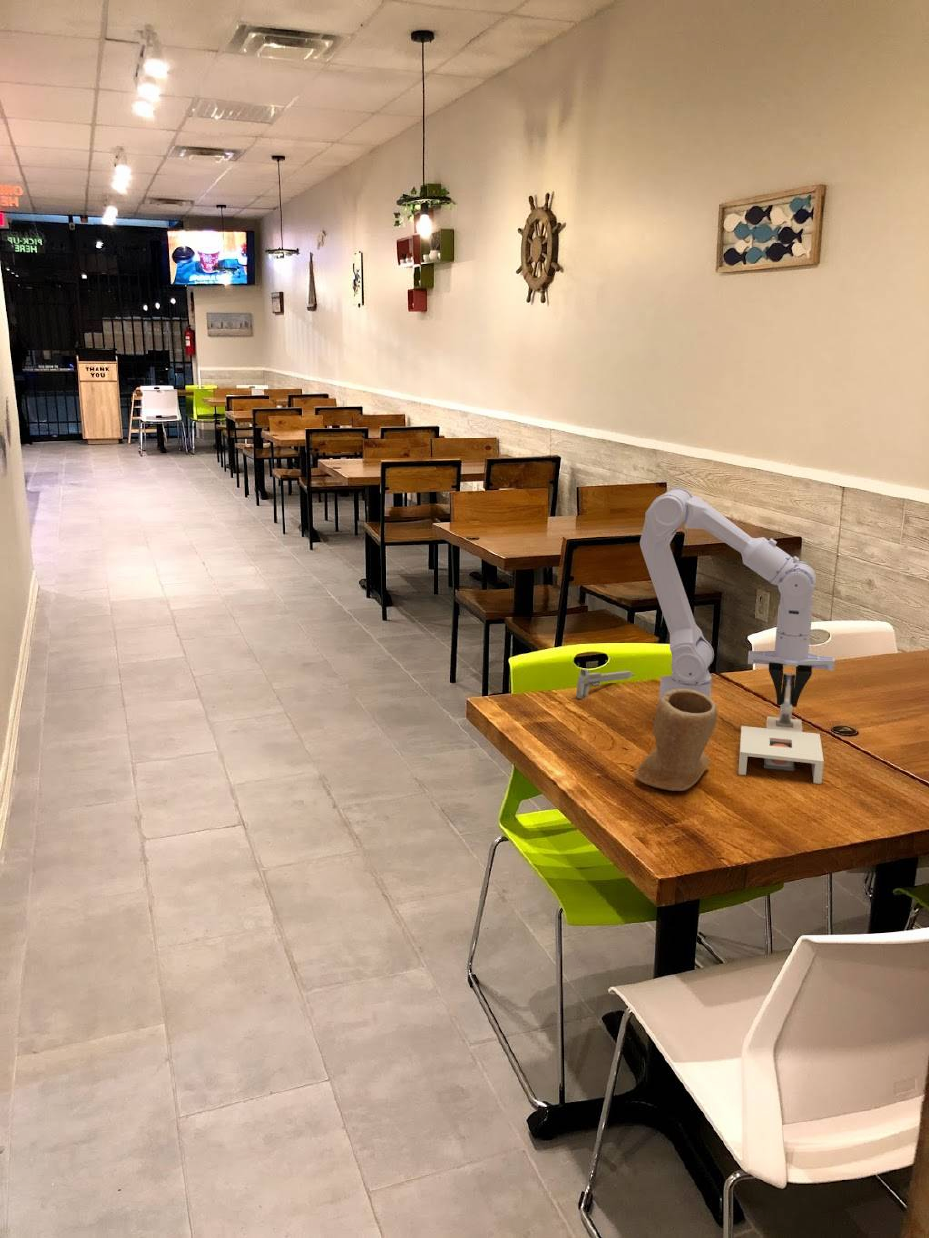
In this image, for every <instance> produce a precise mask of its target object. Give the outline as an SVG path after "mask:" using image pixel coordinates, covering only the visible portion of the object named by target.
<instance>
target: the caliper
mask: <svg viewBox="0 0 929 1238" xmlns="http://www.w3.org/2000/svg"><path fill="white" fill-rule="evenodd" d="M589 671H590V670H589V669H586V668H584V669H580V674H579V675H578V678H577V683H576V698H577V699H578V700H579V699H580V700H583V698H584V699H586V698H588V695H589V692H590V688H591V687H599V686H600V683H603V682H611V681H619V680H626V679H627V680H628V679H629V678H631V677H632V676H635V674H634V673H632V671H630V670H621V671H615V672H608V673H607V672H606V673H600V672H591V673H589Z"/></svg>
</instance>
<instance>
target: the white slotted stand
mask: <svg viewBox="0 0 929 1238" xmlns="http://www.w3.org/2000/svg"><path fill="white" fill-rule="evenodd" d="M739 741H740V742H739V756H738V757H739V758H738V772H737V773H738V775H739V776H740V775H743V776H746V775H747V767H748V766H747V764H748V757H752V758H760V759H761V758H762V759H764V758H768V759H777V760H786V761H794V763H795V762H796V763H799V762H800V763H806V764H810V765H811V773H812V781H813V784H818V785H819V784H820V785H821V784H822V782H823V780H822V779H823V773H824V772H823V771H824V761H825V760H824V754H823V753H824V752H823V749H822V748H823V747H822V746H823V745H822V741H821V735H820V733H815V732H807V731H806V732H805V731H803V732H797V731H787V730H777V729H768V728H766V727H756V726H746V725H741V727H740V740H739ZM773 744H784V745H787V746H788V747H789V748H788V747H779V746H772V745H773Z"/></svg>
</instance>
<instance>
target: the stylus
mask: <svg viewBox="0 0 929 1238" xmlns="http://www.w3.org/2000/svg"><path fill="white" fill-rule="evenodd" d="M795 675H796V674H794V673H791V672H790V673H789V672H785V673H784V672H783V680H782V702H781V705H780V707H779V708H780V709H779V717H778V718H779V722H780V723H783V724H790V723H791V719H792V713H793V707H792V703H793V694H794V686H795Z"/></svg>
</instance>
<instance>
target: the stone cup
mask: <svg viewBox="0 0 929 1238" xmlns="http://www.w3.org/2000/svg"><path fill="white" fill-rule="evenodd" d="M717 716H718V707H717V704H716V702H715V701H714V700H713V699H712V698H711V696H710V697H708V696H706V695H705V694H703V693H700V692H698V691H695V690H690V689H674V690H670V691H668V692H667V693H665V694H664V695H663V696H662V697H661V699H660V701H659V700H658V703H657V706H656V711H655V715H654V722H653V734H654V739H655V748H654V749H653V750H652V751H651V752H650V753H649V754H648V755H647V756H646V758H644V760H643V761H642V762H641V763H640V764H639V766H637V768H636V770H635V777H636V779H637V780H638V781H639V782H641V783H643V784H645V785H647V786H650V787H653V788H656V789H662V790H665V791H666V790H667V791H677V792H681V791H686V790H688V789H691V788H692V787H693V786H694V785H695V784H696V783H697V782H699V780H700V779H701V776H702V775H703V774H704V773H705V771H706V769H707V768H708V767H709V765H710V763H711V759H710V758H709V757H708V756H707V755H706V754H704V750H705V748H706V747H707V744H708V742H709V741H710V739H711V736H712V734H713V733H714V731H715V727H716V723H717Z"/></svg>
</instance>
